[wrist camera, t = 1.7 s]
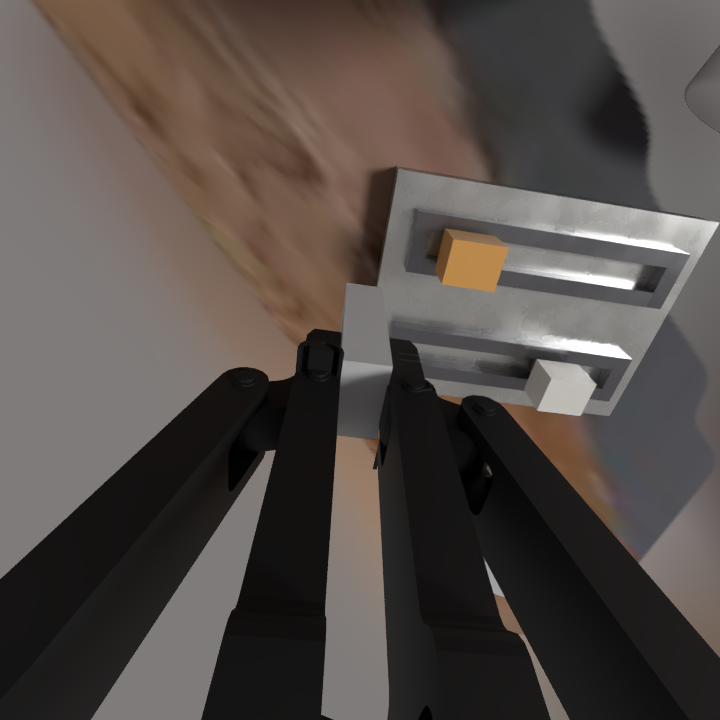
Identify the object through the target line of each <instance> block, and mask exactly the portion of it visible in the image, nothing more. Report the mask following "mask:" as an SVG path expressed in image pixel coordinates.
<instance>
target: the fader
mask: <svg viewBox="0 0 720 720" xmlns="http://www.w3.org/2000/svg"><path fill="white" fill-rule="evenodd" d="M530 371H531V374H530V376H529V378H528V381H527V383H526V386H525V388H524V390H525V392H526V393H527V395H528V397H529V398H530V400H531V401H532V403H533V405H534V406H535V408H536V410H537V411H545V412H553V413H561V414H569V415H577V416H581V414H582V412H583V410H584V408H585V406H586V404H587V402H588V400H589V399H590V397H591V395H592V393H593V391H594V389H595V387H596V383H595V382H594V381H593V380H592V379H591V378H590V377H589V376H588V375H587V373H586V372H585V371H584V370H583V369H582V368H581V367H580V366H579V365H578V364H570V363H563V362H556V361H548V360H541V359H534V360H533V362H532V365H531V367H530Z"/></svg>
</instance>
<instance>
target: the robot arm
mask: <svg viewBox="0 0 720 720" xmlns="http://www.w3.org/2000/svg"><path fill="white" fill-rule="evenodd" d="M379 430H380V440H379V444H378V449H377V453H376V457H375V462H374V467H373V469H377V466H378V480H379V499H380V518H381V537H382V558H383V577H384V578H383V579H384V598H385V616H386V617H385V618H386V638H387V657H388V678H389V711H388V719H387V720H551V719H550V716H549V713H548V710H547V707H546V704H545V701H544V698H543V695H542V691H541V688H540V685H539V682H538V679H537V676H536V673H535V669H534V666H533V663H532V660H531V657H530V655H529V652H528V650H527V647H526V645H525V643H524V641H523V640H522V639H521V638H520V636H519V635H518V634H517V633H514V632H511V631H508V630H507V629H506V628H505V627H504V625H503V623H502V620H501V618H500V615H499V611H498V607H497V604H496V600H495V597H494V593H493V590H492V586H491V583H490V579H489V576H488V572H487V569H486V565H485V562H484V559H485V561H486V563H487V564H488V566H489V568H490V570H491V572H492V574H493V576H494V578H495V580H496V581H497V583H498V585H499V587H500V589H501V591H502V593H503V595H504V596H505V598H506V600H507V602H508V604H509V606H510V608H511V610H512V612H513V613H514V615H515V617H516V619H517V621H518V623H519V625H520V627H521V628H522V630H523V632H524V634H525V636H526V638H527V640H528V642H529V644H530V645H531V647H532V649H533V651H534V653H535V655H536V656H537V659H538V660H539V662H540V664H541V666H542V668H543V670H544V672H545V674H546V676H547V677H548V679H549V681H550V683H551V685H552V687H553V689H554V691H555V692H556V694H557V696H558V698H559V700H560V702H561V704H562V706H563V708H564V709H565V711H566V713H567V715H568V717H569V719H570V720H720V658H719V657H718V655H717V654H716V653H715V652H714V651H713V650H712V649H711V647H710V646H709V645H708V644H707V643H706V642H705V640H704V639H703V638H702V637H701V636H700V635H699V634H698V632H697V631H696V630H695V629H694V628H693V626H692V625H691V624H690V623H689V622H688V621H687V620H686V618H685V617H684V616H683V615H682V614H681V612H680V611H679V610H678V609H677V608H676V607H675V606H674V604H673V603H672V602H671V601H670V600H669V599H668V597H667V596H666V595H665V594H664V593H663V592H662V590H661V589H660V588H659V587H658V586H657V585H656V583H655V582H654V581H653V580H652V579H651V578H650V576H649V575H648V574H647V573H646V572H645V571H644V570H643V568H642V567H641V566H640V565H639V564H638V563H637V561H636V560H635V559H634V558H633V557H632V556H631V554H630V553H629V552H628V551H627V550H626V549H625V547H624V546H623V545H622V544H621V543H620V542H619V540H618V539H617V538H616V537H615V536H614V535H613V534H612V532H611V531H610V530H609V529H608V528H607V527H606V525H605V524H604V523H603V522H602V521H601V520H600V518H599V517H598V516H597V515H596V514H595V513H594V511H593V510H592V509H591V508H590V507H589V506H588V504H587V503H586V502H585V501H584V500H583V499H582V498H581V496H580V495H579V494H578V493H577V492H576V491H575V489H574V488H573V487H572V486H571V485H570V484H569V482H568V481H567V480H566V479H565V478H564V477H563V475H562V474H561V473H560V472H559V471H558V470H557V468H556V467H555V466H554V465H553V464H552V463H551V462H550V460H549V459H548V458H547V457H546V456H545V455H544V453H543V452H542V451H541V450H540V449H539V448H538V446H537V445H536V444H535V443H534V442H533V441H532V439H531V438H530V437H529V436H528V435H527V434H526V432H525V431H524V430H523V429H522V428H521V427H520V426H519V424H518V423H517V422H516V421H515V420H514V419H513V417H512V416H511V415H510V414H509V413H508V412H507V410H506V409H505V408H504V407H503V406H502V405H500V404H499V403H498V402H496V401H494V400H492V399H491V398H488V397H485V396H479V395H471V396H466V397H465V398H463V399H462V403H461V405H459V404H455V403H452V402H449V401H446V400H444V399H441V398H440V397H438V396H437V393H436V389H435V388H434V386H433V384H431V383H430V382H429V381H428V380H426V379H425V377H424V373H423V369H422V365H421V363H420V358H419V354H418V350H417V347H416V346H415V345H414V344H413V343H412V342H411V341H409V340H402V339H395V338H389V335H388V328H387V320H386V313H385V306H384V299H383V292H382V288H381V287H374V286H367V285H360V284H353V283H347V285H346V292H345V299H344V306H343V313H342V320H341V328H340V332H335V331H328V330H320V329H314V330H312V331H311V332H310V333H309V334H307V338H306V341H304V342H302V343H300V345H299V346H298V351H297V362H296V373H295V375H294V376H292V377H291V378H288V379H285V380H279V381H269V379H268V376H267V375H266V374H265V373H264V372H262V371H260V370H257V369H255V368H248V367H239V368H234V369H231V370H228V371H226V372H225V373H223V374H222V375H221V376H220V377H219V378H218V379H216V380H215V381H214V382H213V383H212V384H211V385H210V386H209V387H208V388H207V389H206V390H204V391H203V392H202V393H201V394H200V395H199V396H198V397H197V398H196V399H195V400H194V401H192V402H191V403H190V404H189V405H188V406H187V407H186V408H185V409H184V410H183V411H182V412H181V413H180V414H178V416H176V417H175V418H174V419H173V420H172V421H171V422H170V423H169V424H168V425H167V426H165V427H164V428H163V429H162V430H161V431H160V432H159V433H158V434H157V435H156V436H155V437H154V438H152V439H151V440H150V441H149V442H148V443H147V444H146V445H145V446H144V447H143V448H142V449H141V450H140V451H138V452H137V454H135V455H134V456H133V457H132V458H131V459H130V460H129V461H128V462H127V463H126V464H124V465H123V466H122V467H121V468H120V469H119V470H118V471H117V472H116V473H115V474H114V475H113V476H112V477H110V478H109V479H108V480H107V481H106V482H105V483H104V484H103V485H102V486H101V487H100V488H99V489H97V491H95V492H94V493H93V494H92V495H91V496H90V497H89V498H88V499H87V500H85V502H83V503H82V504H81V505H80V506H79V507H78V508H77V509H76V510H75V511H74V512H73V513H72V514H70V515H69V516H68V517H67V518H66V519H65V520H64V521H63V522H62V523H61V524H60V525H58V527H57V528H55V529H54V530H53V531H52V532H51V533H50V534H49V535H48V536H47V537H46V538H44V539H43V540H42V541H41V542H40V543H39V544H38V545H37V546H36V547H35V548H34V549H33V550H31V551H30V552H29V553H28V554H27V555H26V556H25V557H24V558H23V559H22V560H21V561H20V562H19V563H17V565H15V566H14V567H13V568H12V569H11V570H10V571H9V572H8V573H7V574H6V575H5V576H3V577H2V578H1V579H0V720H91V718H92V717H93V715H94V714H95V712H96V711H97V709H98V708H99V706H100V705H101V703H102V702H103V700H104V699H105V697H106V696H107V694H108V692H109V691H110V690H111V688H112V687H113V685H114V684H115V682H116V680H117V679H118V678H119V676H120V674H121V673H122V671H123V670H124V668H125V667H126V665H127V664H128V662H129V661H130V659H131V658H132V656H133V655H134V653H135V652H136V650H137V649H138V647H139V646H140V644H141V643H142V641H143V640H144V638H145V637H146V635H147V634H148V632H149V631H150V629H151V628H152V626H153V624H154V623H155V622H156V620H157V618H158V617H159V615H160V614H161V612H162V611H163V609H164V608H165V606H166V605H167V603H168V602H169V600H170V599H171V597H172V596H173V594H174V593H175V591H176V590H177V588H178V587H179V585H180V584H181V582H182V581H183V579H184V577H185V576H186V575H187V573H188V572H189V570H190V568H191V567H192V565H193V564H194V562H195V561H196V559H197V558H198V556H199V555H200V553H201V552H202V550H203V549H204V547H205V546H206V544H207V543H208V541H209V540H210V538H211V537H212V535H213V534H214V532H215V531H216V529H217V527H218V526H219V525H220V523H221V522H222V520H223V518H224V517H225V515H226V514H227V512H228V511H229V509H230V508H231V506H232V505H233V503H234V502H235V500H236V499H237V497H238V495H239V494H240V493H241V491H242V490H243V488H244V487H245V485H246V484H247V482H248V480H249V479H250V478H251V476H252V475H253V473H254V471H255V470H256V468H257V467H258V465H259V464H260V462H261V461H262V459H263V458H264V455H265V451H270V450H276V452H275V456H274V460H273V464H272V468H271V472H270V476H269V480H268V484H267V488H266V492H265V496H264V500H263V504H262V508H261V512H260V516H259V520H258V524H257V528H256V532H255V536H254V540H253V544H252V548H251V552H250V555H249V556H250V557H249V560H248V563H247V567H246V571H245V576H244V579H243V583H242V587H241V591H240V596H239V599H238V602H237V605H236V608H235V609H233V610H232V611H231V614H230V616H229V618H228V622H227V625H226V628H225V632H224V635H223V639H222V643H221V647H220V650H219V654H218V658H217V662H216V666H215V670H214V673H213V678H212V681H211V685H210V688H209V692H208V696H207V700H206V704H205V708H204V711H203V715H202V719H201V720H333V719H330V718H327V717H325V716H323V715H321V706H322V691H323V690H322V689H323V675H324V659H325V642H326V617H325V600H326V585H327V571H328V556H329V541H330V527H331V512H332V497H333V483H334V467H335V453H336V439H337V435H339V436H347V437H356V438H365V439H373V440H377V436H378V432H379ZM487 466H489V468H490V470H491V473H492V475H491V474H490V473H489V471H488V470H487ZM483 557H484V558H483Z"/></svg>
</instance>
